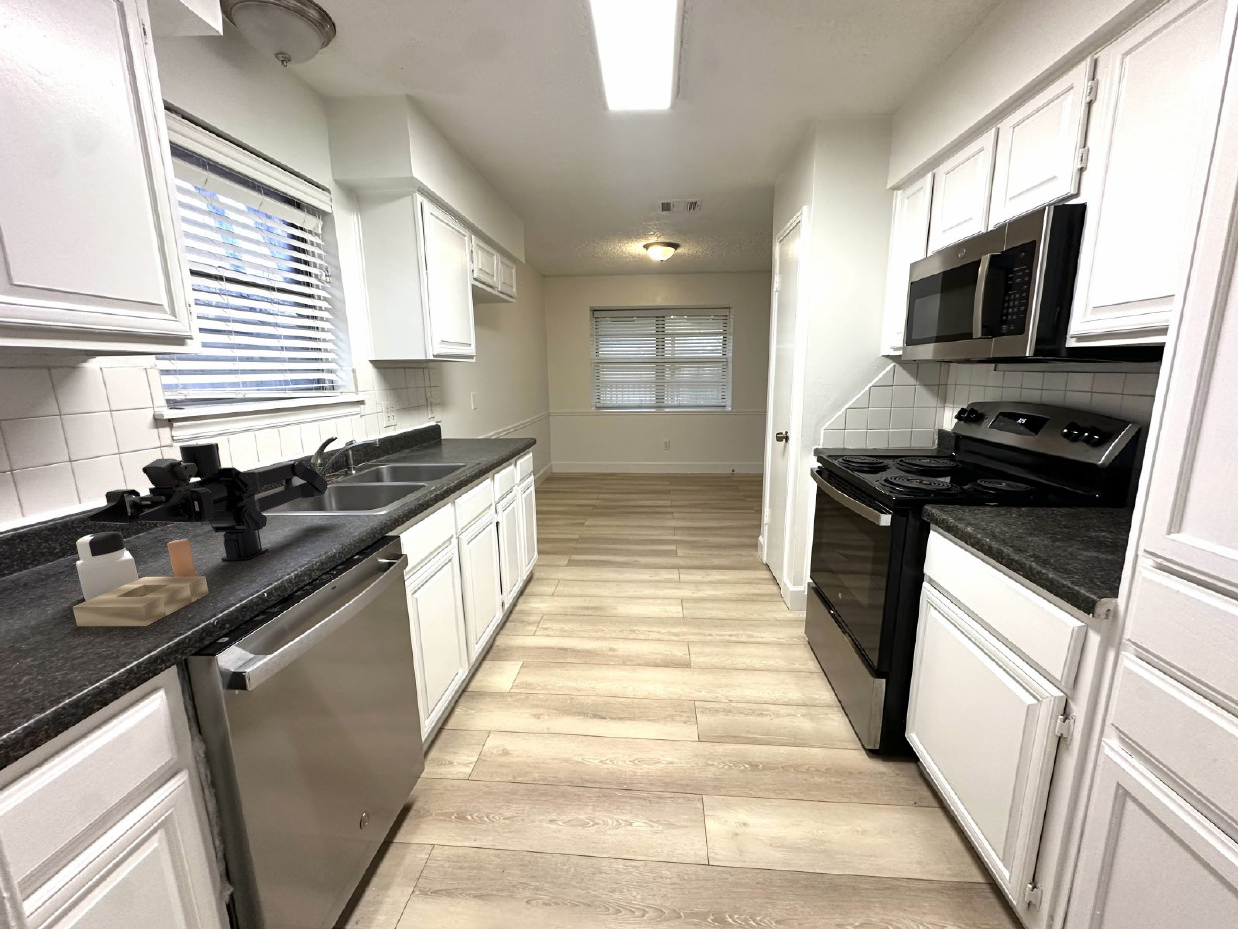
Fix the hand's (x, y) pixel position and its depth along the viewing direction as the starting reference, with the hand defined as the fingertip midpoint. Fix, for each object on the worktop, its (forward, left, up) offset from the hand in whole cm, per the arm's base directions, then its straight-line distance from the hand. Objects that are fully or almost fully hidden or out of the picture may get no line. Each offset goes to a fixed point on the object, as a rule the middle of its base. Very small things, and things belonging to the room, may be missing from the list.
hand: (114, 518), depth 85 cm
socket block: (+1, +3, -16) cm, 17 cm away
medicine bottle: (-5, -10, -17) cm, 20 cm away
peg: (-9, +1, -17) cm, 19 cm away
